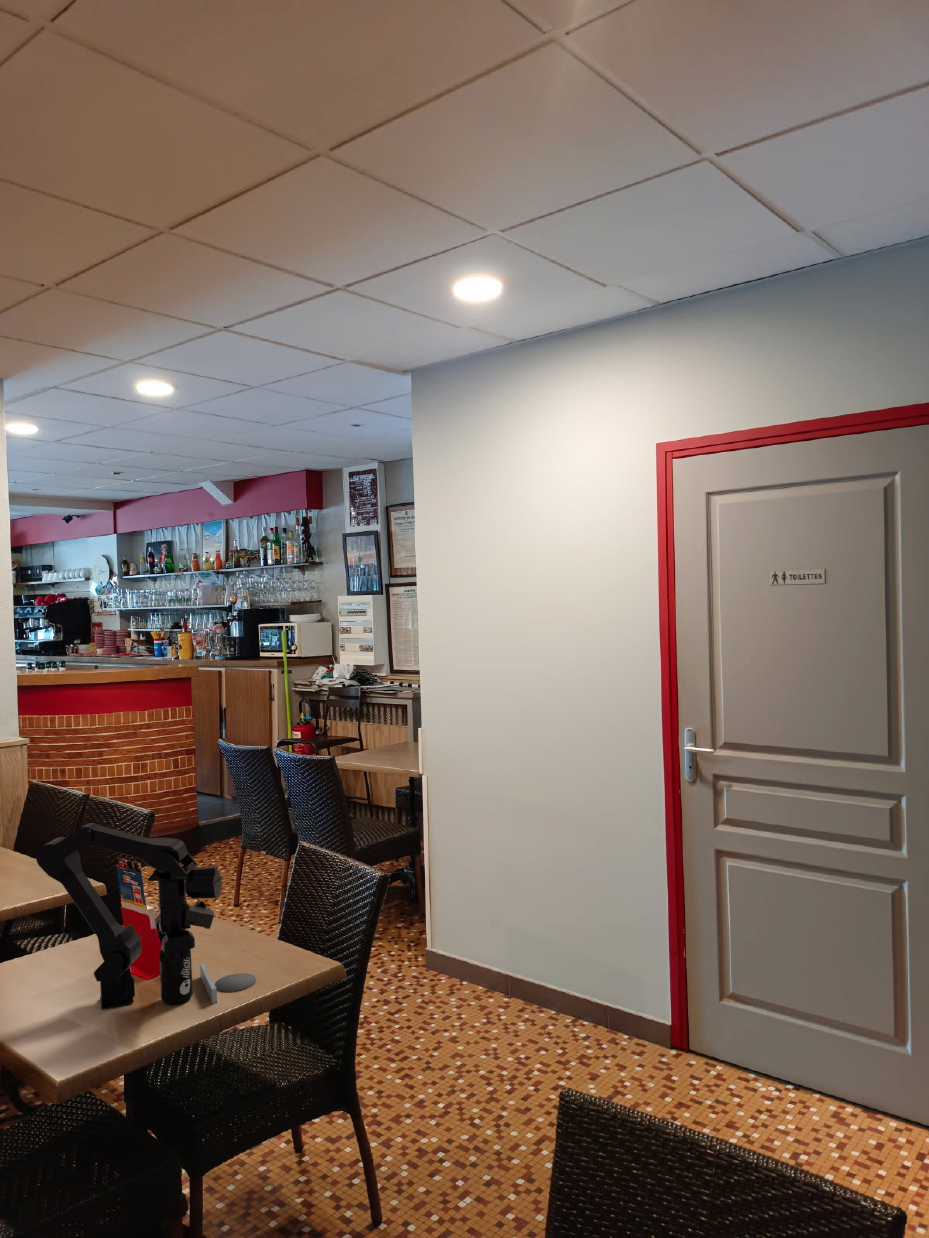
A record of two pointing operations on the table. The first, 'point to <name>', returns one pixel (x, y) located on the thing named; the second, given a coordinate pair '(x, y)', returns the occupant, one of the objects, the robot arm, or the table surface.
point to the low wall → (208, 983)
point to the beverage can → (175, 980)
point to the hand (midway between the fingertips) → (175, 969)
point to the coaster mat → (235, 982)
